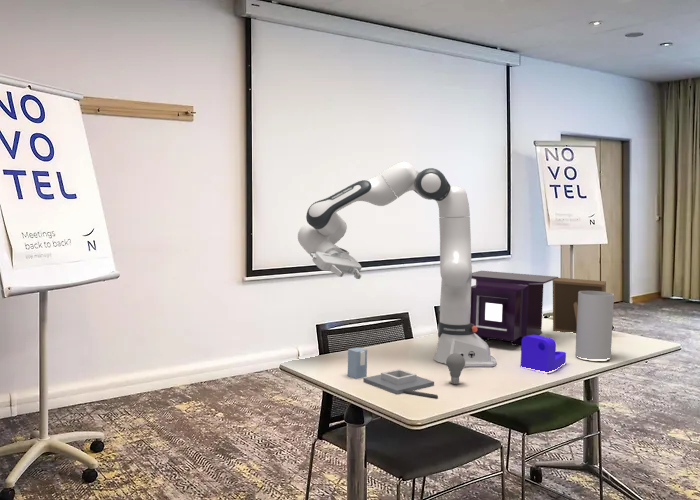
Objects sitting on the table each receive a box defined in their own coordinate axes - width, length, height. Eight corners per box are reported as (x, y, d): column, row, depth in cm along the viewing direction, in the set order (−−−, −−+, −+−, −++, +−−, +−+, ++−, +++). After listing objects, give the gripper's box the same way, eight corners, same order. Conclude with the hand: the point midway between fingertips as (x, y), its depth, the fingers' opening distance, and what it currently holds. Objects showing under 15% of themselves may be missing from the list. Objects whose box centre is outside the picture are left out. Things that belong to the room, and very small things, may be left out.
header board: (399, 373, 209) (400, 364, 209) (434, 385, 197) (434, 375, 197) (363, 381, 200) (363, 372, 199) (397, 394, 187) (397, 384, 187)
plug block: (358, 373, 209) (358, 347, 208) (367, 377, 205) (368, 350, 204) (347, 375, 206) (348, 349, 205) (357, 379, 202) (357, 352, 201)
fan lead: (402, 393, 189) (402, 389, 188) (404, 392, 189) (404, 388, 189) (437, 398, 184) (437, 395, 184) (438, 397, 185) (438, 394, 184)
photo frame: (555, 329, 289) (557, 276, 287) (605, 335, 278) (607, 280, 276) (547, 335, 276) (550, 279, 274) (599, 341, 265) (602, 283, 263)
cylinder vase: (617, 360, 233) (621, 294, 231) (596, 364, 227) (599, 296, 225) (589, 352, 244) (592, 290, 242) (568, 356, 238) (571, 292, 236)
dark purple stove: (479, 328, 288) (481, 270, 286) (555, 338, 269) (558, 276, 267) (449, 342, 258) (451, 277, 256) (532, 354, 240) (535, 285, 238)
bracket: (546, 374, 212) (548, 340, 212) (520, 367, 221) (521, 335, 220) (576, 366, 224) (577, 334, 223) (550, 360, 232) (551, 329, 231)
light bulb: (443, 381, 202) (444, 351, 201) (461, 381, 202) (462, 351, 202) (448, 386, 196) (449, 355, 195) (466, 386, 196) (467, 355, 196)
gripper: (311, 244, 216) (334, 265, 207) (350, 251, 231) (373, 271, 223) (303, 259, 218) (326, 281, 209) (342, 265, 233) (364, 285, 224)
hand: (350, 276), depth 216 cm, fingers open, 8 cm apart
